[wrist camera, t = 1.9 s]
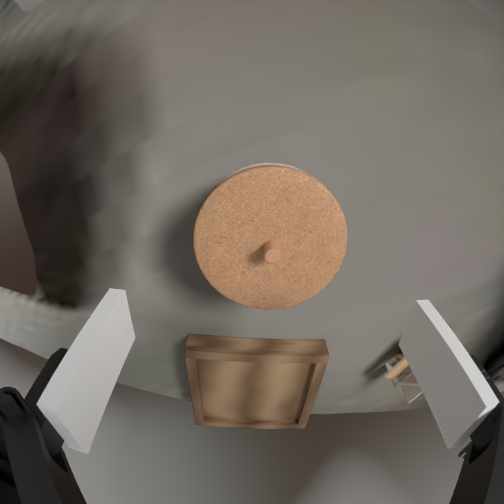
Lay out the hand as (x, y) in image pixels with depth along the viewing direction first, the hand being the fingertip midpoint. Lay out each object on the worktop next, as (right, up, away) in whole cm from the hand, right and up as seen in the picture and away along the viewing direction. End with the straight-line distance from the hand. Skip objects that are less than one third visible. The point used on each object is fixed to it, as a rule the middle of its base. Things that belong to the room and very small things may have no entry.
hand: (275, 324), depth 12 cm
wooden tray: (-1, -14, +24) cm, 28 cm away
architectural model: (+19, -10, +23) cm, 32 cm away
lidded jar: (0, +7, +15) cm, 16 cm away
